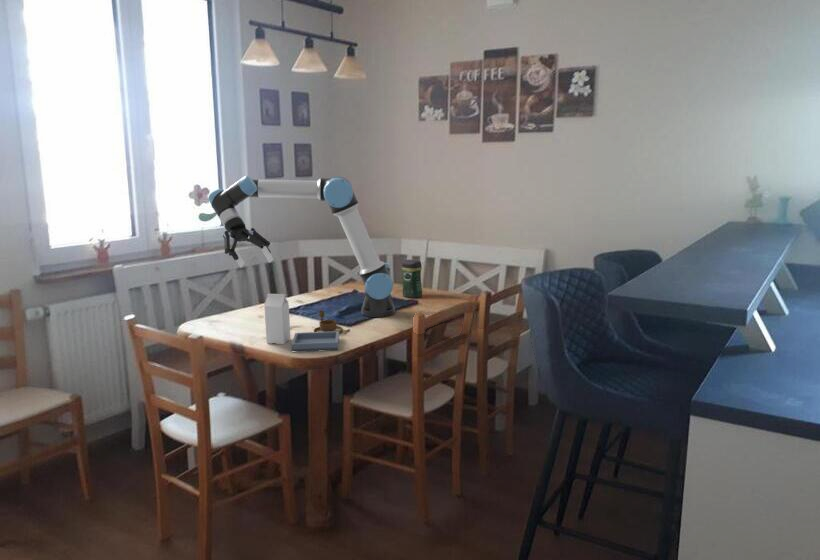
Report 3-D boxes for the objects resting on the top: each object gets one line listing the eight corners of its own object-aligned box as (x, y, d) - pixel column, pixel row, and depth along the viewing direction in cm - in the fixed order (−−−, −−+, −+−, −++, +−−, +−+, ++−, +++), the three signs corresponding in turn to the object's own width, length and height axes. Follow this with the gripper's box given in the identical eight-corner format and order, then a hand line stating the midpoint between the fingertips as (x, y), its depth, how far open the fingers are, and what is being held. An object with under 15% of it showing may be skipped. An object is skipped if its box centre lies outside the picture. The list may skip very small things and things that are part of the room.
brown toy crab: (302, 336, 261) (301, 322, 260) (318, 323, 280) (318, 310, 279) (344, 338, 257) (343, 324, 256) (357, 324, 277) (357, 311, 275)
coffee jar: (424, 296, 325) (424, 259, 321) (415, 299, 319) (414, 262, 315) (409, 293, 331) (409, 257, 327) (400, 296, 324) (399, 260, 321)
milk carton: (284, 344, 249) (281, 296, 245) (266, 343, 250) (263, 295, 246) (290, 339, 256) (287, 292, 252) (273, 338, 257) (270, 291, 253)
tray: (339, 338, 255) (338, 331, 255) (337, 350, 241) (337, 342, 240) (295, 340, 254) (295, 332, 253) (291, 352, 239) (291, 344, 239)
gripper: (254, 225, 272) (278, 264, 266) (201, 231, 254) (226, 273, 247) (261, 213, 268) (286, 252, 261) (208, 219, 249) (233, 261, 243)
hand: (257, 263), depth 254 cm, fingers open, 13 cm apart
